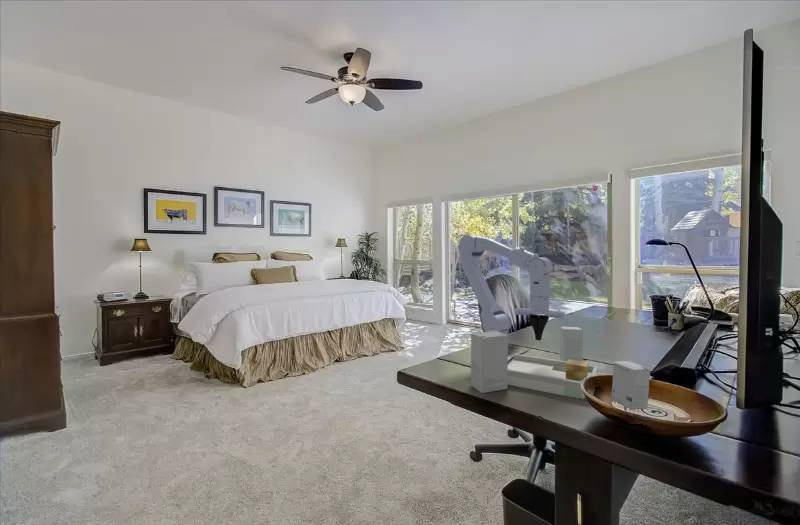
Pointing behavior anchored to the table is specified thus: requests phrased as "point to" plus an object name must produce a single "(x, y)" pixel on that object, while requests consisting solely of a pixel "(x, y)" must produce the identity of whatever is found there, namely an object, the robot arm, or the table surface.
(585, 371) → the ochre block
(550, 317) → the robot arm
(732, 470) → the table surface
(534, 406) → the table surface
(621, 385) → the skincare box
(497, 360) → the skincare box
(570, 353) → the skincare box
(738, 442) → the table surface
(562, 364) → the trap box
